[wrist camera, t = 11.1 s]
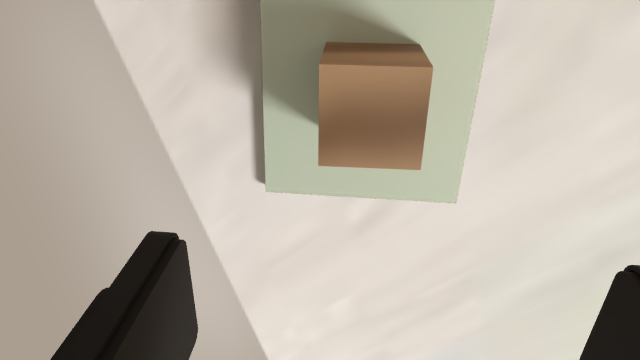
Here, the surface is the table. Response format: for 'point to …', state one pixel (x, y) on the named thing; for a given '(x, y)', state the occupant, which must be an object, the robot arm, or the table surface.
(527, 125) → the table surface
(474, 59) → the sage board
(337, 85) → the walnut cube
